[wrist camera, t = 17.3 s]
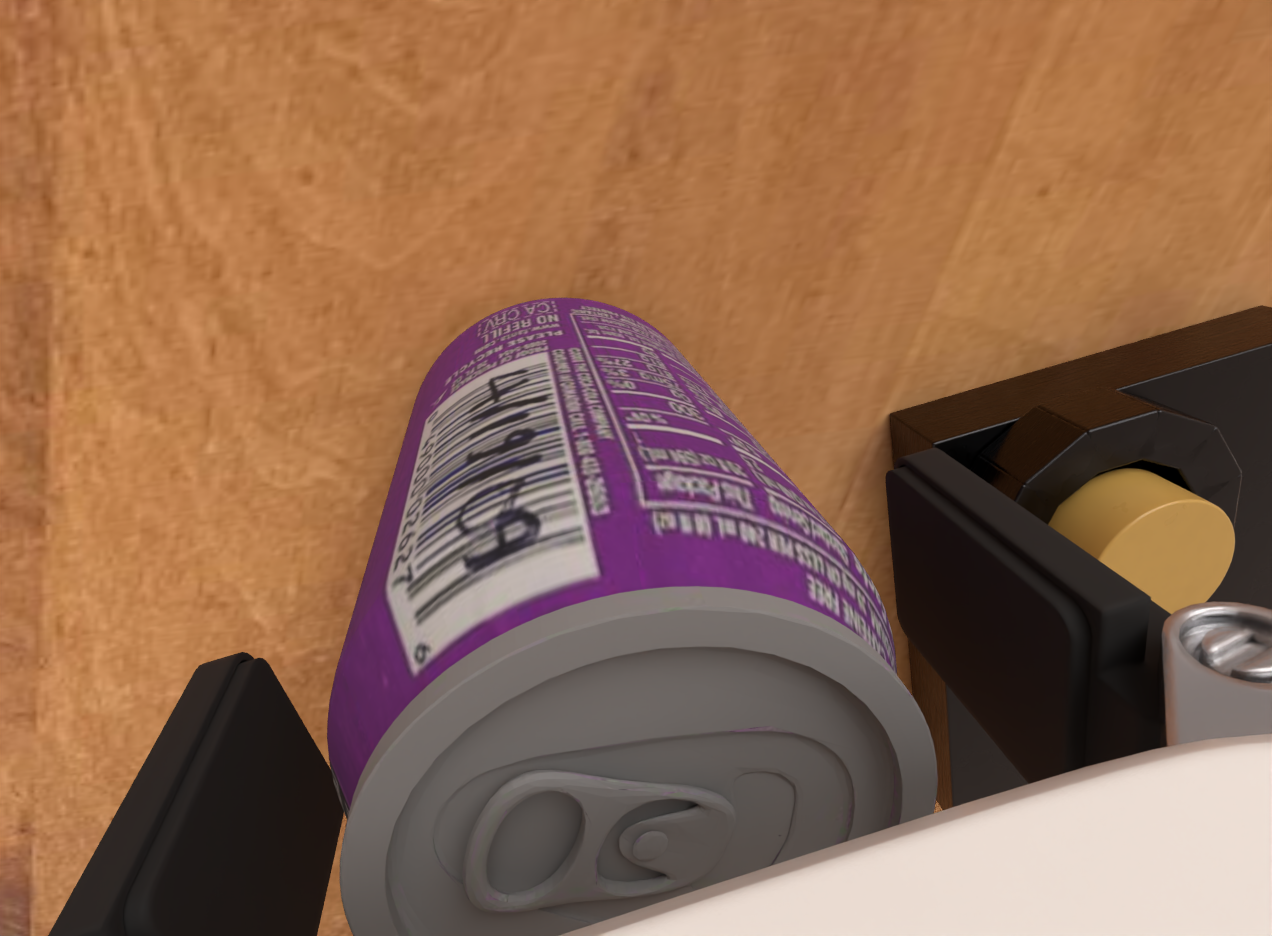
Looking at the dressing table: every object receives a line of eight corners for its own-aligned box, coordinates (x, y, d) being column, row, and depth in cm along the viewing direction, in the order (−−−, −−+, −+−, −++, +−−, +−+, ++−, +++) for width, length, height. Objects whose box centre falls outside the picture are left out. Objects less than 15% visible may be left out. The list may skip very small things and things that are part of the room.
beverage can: (390, 534, 19) (248, 1082, 8) (442, 255, 16) (341, 490, 5) (653, 577, 20) (832, 1064, 10) (736, 332, 18) (1099, 621, 7)
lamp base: (888, 404, 20) (976, 464, 16) (1262, 295, 20) (1429, 329, 17) (918, 774, 26) (987, 878, 22) (1205, 681, 26) (1316, 767, 23)
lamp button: (1036, 492, 17) (1091, 527, 15) (1178, 449, 17) (1246, 480, 16) (1034, 613, 19) (1084, 657, 17) (1164, 573, 19) (1226, 612, 17)
